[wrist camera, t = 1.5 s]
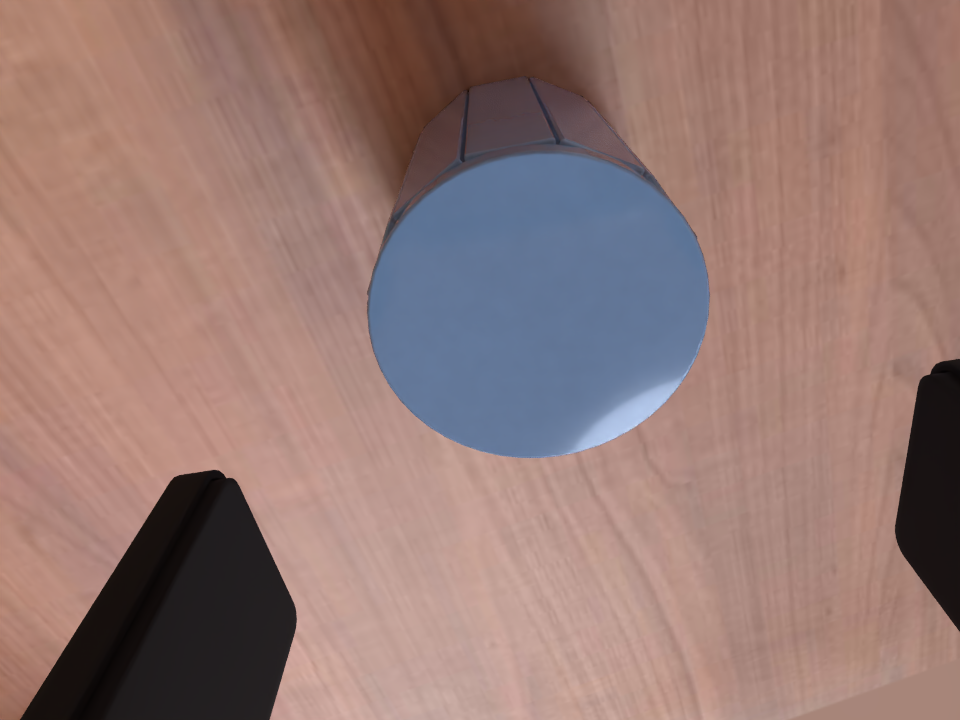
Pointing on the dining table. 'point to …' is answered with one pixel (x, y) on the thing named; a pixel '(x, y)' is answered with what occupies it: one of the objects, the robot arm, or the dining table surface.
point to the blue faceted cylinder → (533, 277)
